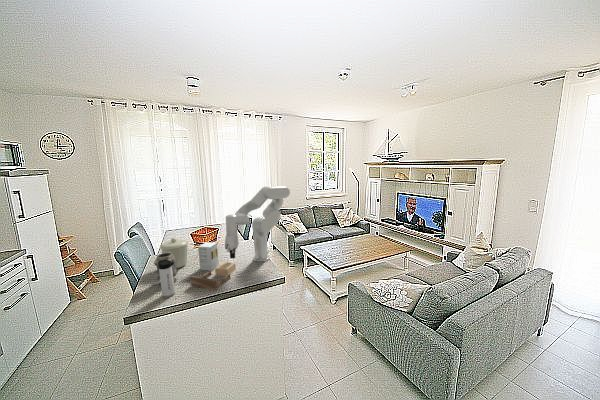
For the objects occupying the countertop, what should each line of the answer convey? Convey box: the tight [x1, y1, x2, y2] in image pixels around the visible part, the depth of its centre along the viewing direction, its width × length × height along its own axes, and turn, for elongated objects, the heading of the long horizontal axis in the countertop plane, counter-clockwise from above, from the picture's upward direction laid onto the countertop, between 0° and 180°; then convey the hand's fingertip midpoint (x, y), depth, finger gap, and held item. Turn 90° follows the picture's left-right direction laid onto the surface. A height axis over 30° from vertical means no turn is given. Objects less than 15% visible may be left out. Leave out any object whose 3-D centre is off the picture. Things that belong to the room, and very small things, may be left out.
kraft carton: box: [214, 261, 236, 277], centre depth 160 cm, size 10×9×5 cm
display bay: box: [189, 270, 231, 292], centre depth 147 cm, size 16×18×6 cm
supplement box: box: [197, 241, 220, 272], centre depth 168 cm, size 10×9×17 cm
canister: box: [159, 237, 189, 270], centre depth 171 cm, size 18×18×21 cm
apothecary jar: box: [153, 252, 179, 287], centre depth 148 cm, size 12×12×18 cm
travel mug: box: [158, 260, 176, 299], centre depth 133 cm, size 6×7×20 cm
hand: (232, 257), depth 168 cm, fingers closed
